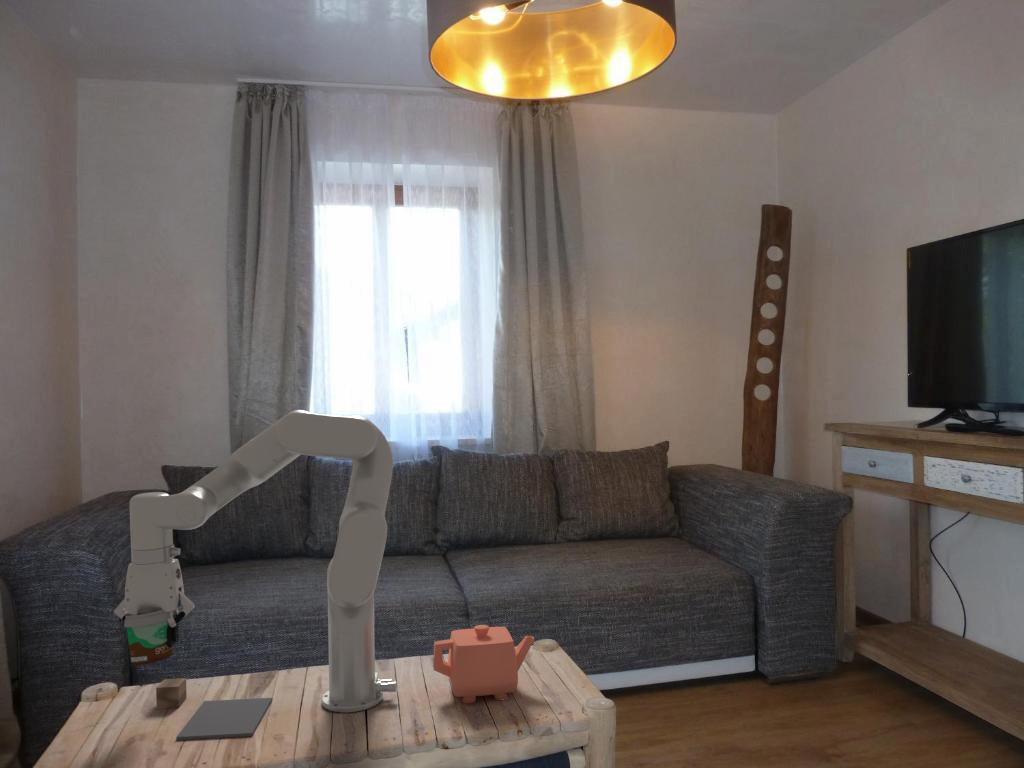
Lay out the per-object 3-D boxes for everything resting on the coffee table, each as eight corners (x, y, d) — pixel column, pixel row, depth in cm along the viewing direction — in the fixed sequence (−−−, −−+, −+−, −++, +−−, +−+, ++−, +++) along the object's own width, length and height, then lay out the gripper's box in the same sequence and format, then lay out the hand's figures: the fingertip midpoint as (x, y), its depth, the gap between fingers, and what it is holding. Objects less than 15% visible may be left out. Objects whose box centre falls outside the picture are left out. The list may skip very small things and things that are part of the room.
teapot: (529, 676, 169) (528, 613, 169) (541, 699, 156) (540, 631, 156) (431, 684, 165) (430, 620, 165) (436, 709, 152) (435, 640, 152)
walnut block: (186, 699, 160) (186, 678, 160) (179, 708, 155) (178, 686, 155) (164, 700, 159) (164, 679, 159) (156, 709, 155) (156, 687, 155)
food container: (155, 669, 142) (152, 616, 142) (126, 668, 143) (123, 616, 143) (193, 645, 154) (190, 597, 154) (166, 645, 155) (163, 597, 155)
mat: (272, 700, 158) (272, 697, 158) (252, 736, 142) (252, 732, 142) (204, 703, 157) (204, 701, 157) (176, 740, 141) (176, 736, 141)
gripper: (203, 548, 153) (206, 637, 153) (116, 553, 151) (119, 642, 151) (190, 557, 145) (194, 650, 145) (98, 562, 144) (102, 656, 144)
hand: (156, 645), depth 148 cm, fingers closed on food container, 5 cm apart
